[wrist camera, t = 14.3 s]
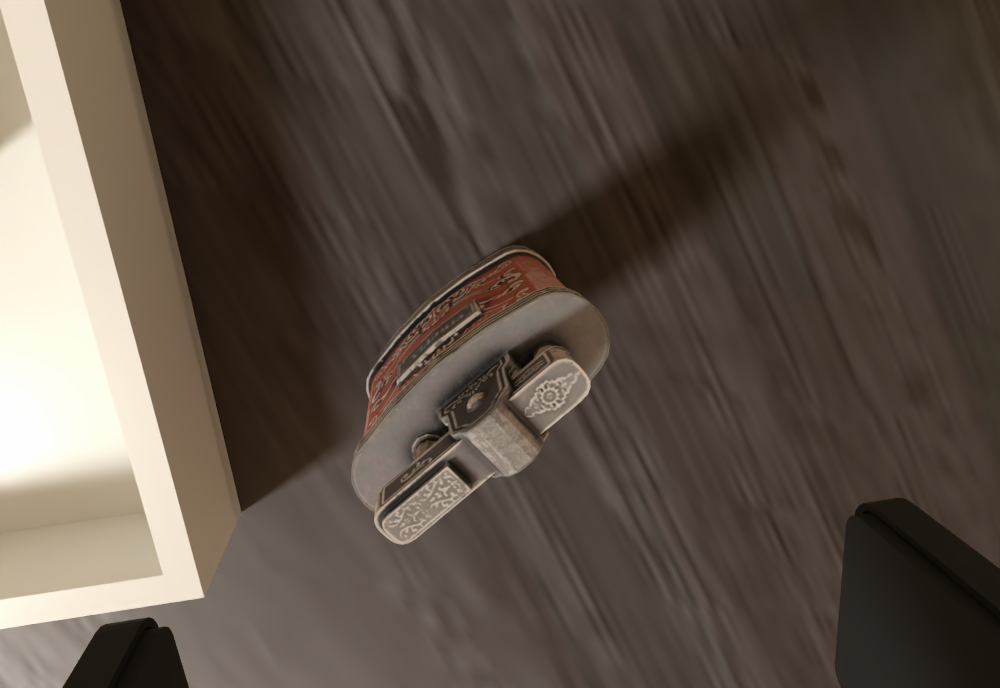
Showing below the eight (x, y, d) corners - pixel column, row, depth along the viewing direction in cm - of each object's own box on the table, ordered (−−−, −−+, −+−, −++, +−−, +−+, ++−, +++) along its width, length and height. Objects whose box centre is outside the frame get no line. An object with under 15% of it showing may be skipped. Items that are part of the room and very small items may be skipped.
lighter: (513, 223, 24) (581, 283, 15) (573, 293, 25) (671, 391, 16) (345, 370, 25) (306, 517, 16) (409, 432, 26) (410, 606, 17)
